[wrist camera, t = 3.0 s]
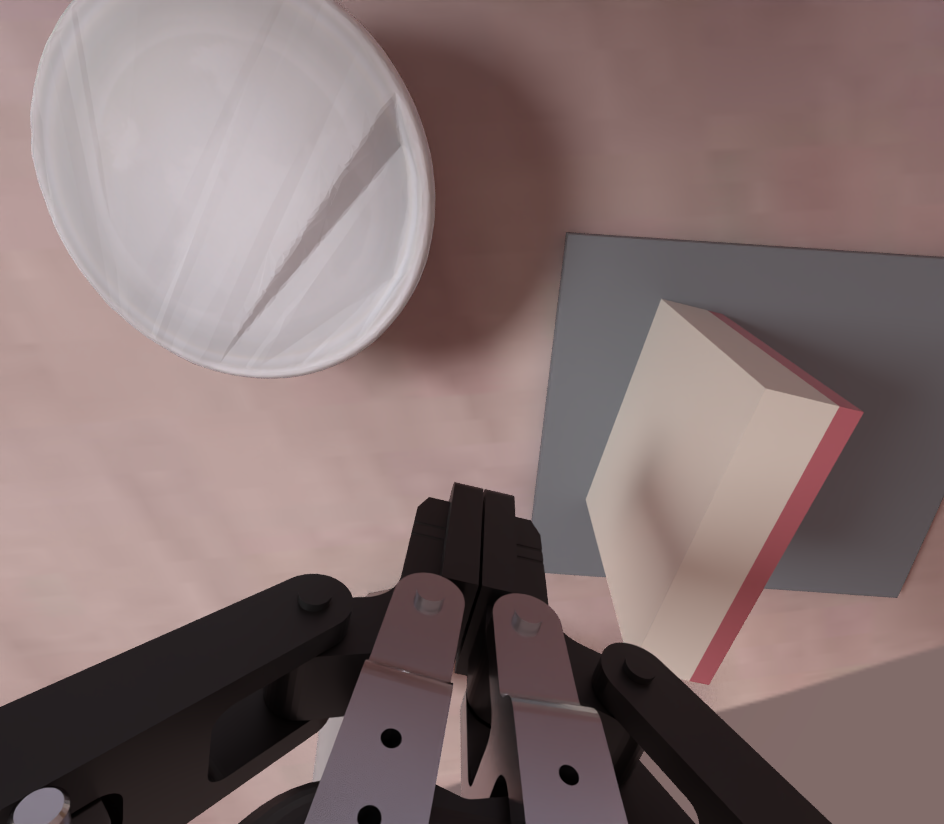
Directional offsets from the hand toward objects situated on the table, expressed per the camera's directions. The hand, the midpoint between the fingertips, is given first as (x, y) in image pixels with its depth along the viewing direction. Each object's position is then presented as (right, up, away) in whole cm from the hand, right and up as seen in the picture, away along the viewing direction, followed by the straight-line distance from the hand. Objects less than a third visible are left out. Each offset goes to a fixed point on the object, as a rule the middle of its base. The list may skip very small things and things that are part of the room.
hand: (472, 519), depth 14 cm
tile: (+7, +3, +9) cm, 12 cm away
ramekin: (-7, +11, +7) cm, 15 cm away
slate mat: (+11, +2, +10) cm, 15 cm away
